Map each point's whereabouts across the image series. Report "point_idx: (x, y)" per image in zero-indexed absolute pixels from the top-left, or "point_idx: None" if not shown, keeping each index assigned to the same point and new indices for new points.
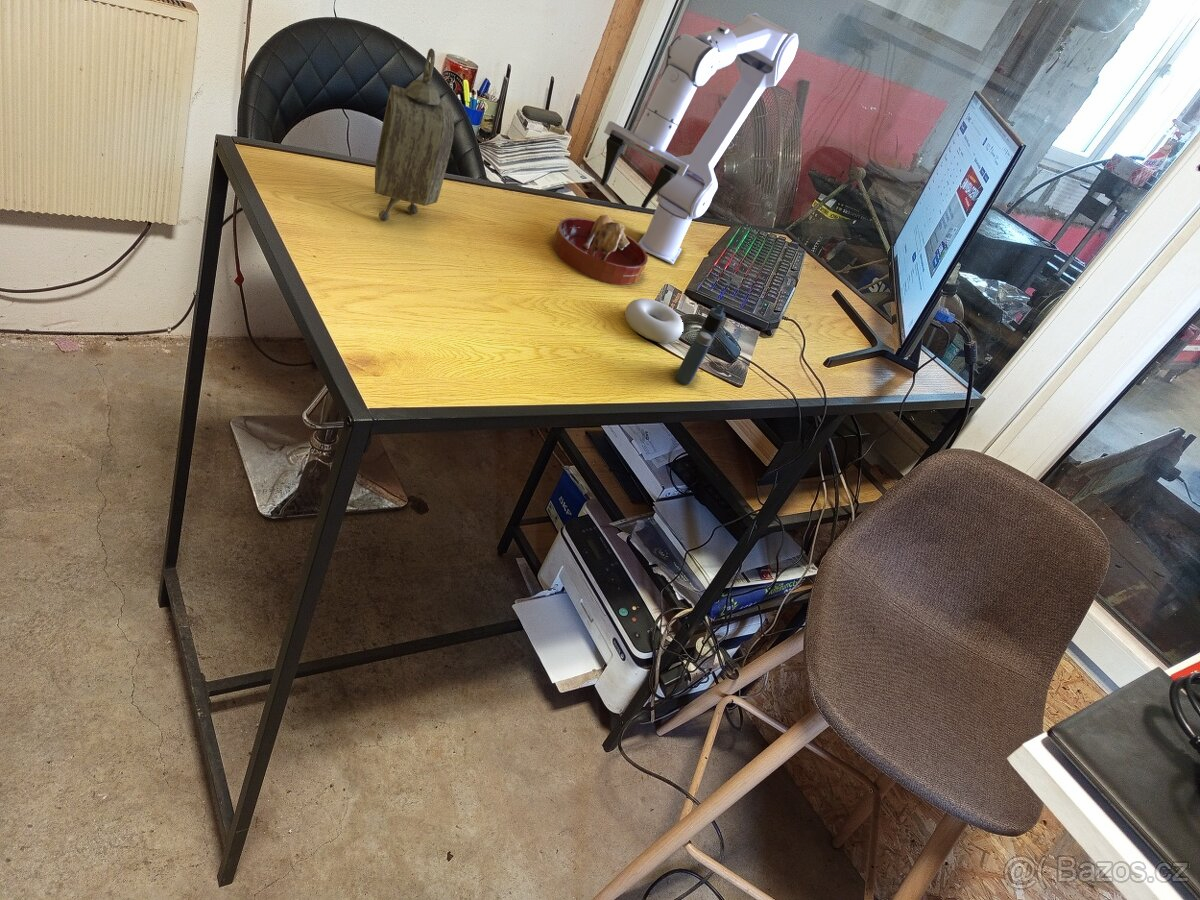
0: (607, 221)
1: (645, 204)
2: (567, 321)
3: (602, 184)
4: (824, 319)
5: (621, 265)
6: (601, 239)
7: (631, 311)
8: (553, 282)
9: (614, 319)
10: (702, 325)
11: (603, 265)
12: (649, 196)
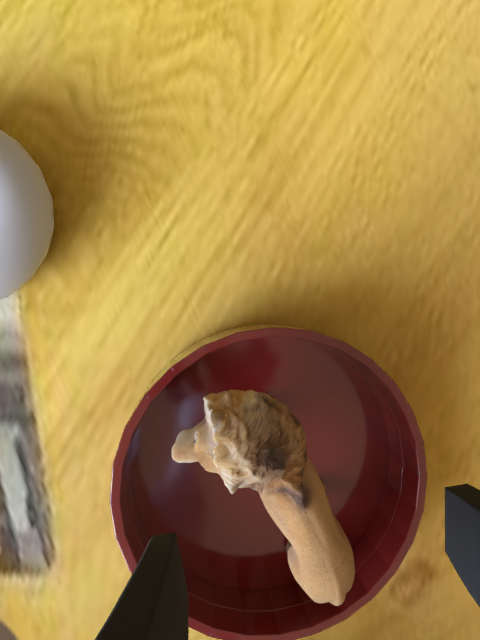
0: (314, 549)
1: (149, 551)
2: (155, 17)
3: (458, 487)
4: None
5: (160, 387)
6: (266, 394)
7: (11, 144)
8: (277, 187)
9: (70, 163)
10: None
11: (207, 342)
12: (134, 599)
